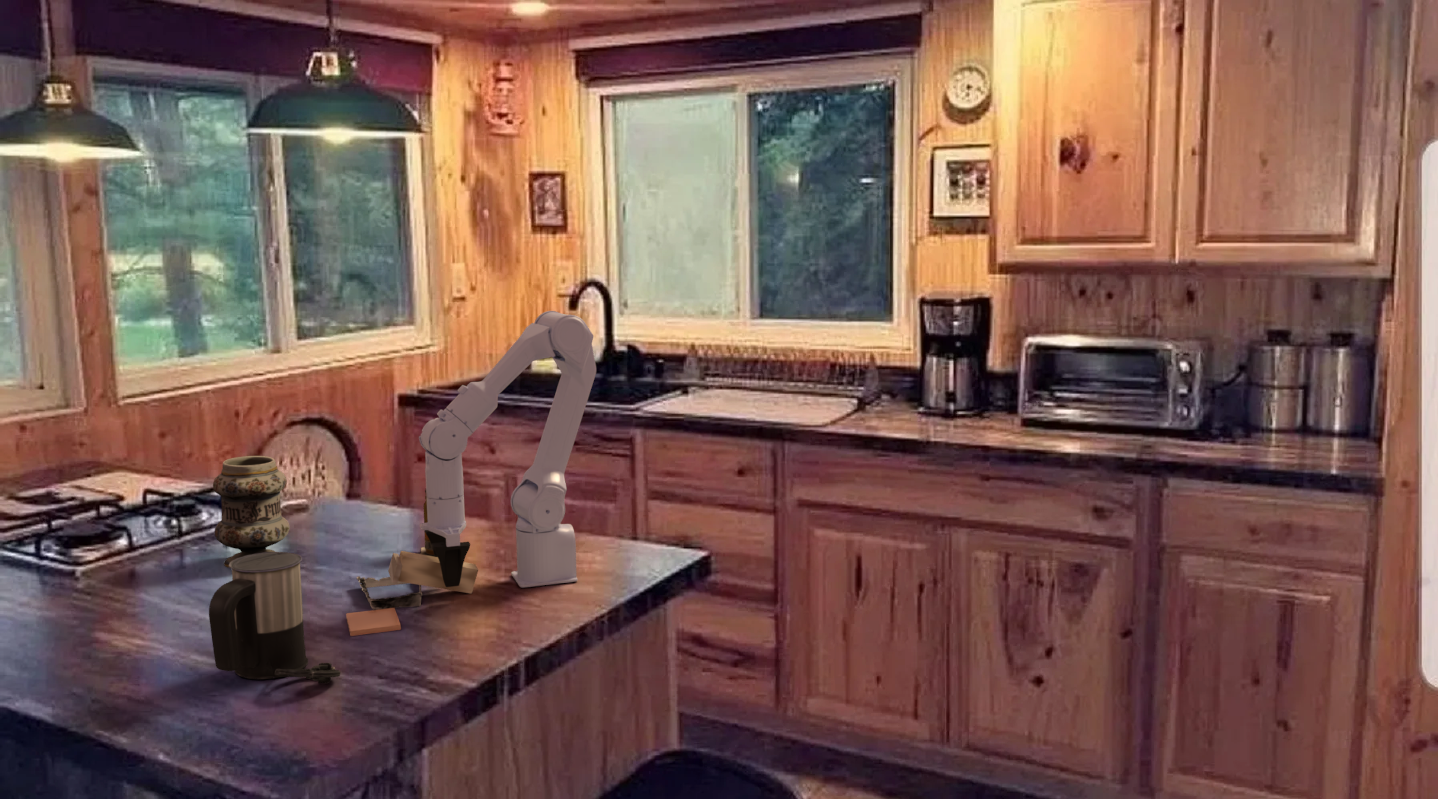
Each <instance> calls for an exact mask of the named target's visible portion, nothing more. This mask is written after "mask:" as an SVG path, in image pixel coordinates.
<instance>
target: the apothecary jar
mask: <svg viewBox="0 0 1438 799" xmlns="http://www.w3.org/2000/svg"><path fill="white" fill-rule="evenodd" d="M287 482H288V480H287V476H286V475H285V474H284V472H282V471H281V470H280V469H278V466H277V463H276V459H275V458H273V457H271V456H267V455H265V456H264V455H248V456H236V457H232V458H228V459H225V460H224V461H223V462H222V469H221V472H220V473H219V474H218V475H216V477H215V478H214V479H213V482H212V489H213V491H214V493H216V494H217V495H219V496H220V498H221V500H220V502H221V520H220V521H219V522H218V523H217V525H216V526H215V529H214V536H215V539H216V540H217V541H218V543H220V544H222V545H223V546H226V547H229V548H232V549H235V550H240V551H239V552H237V553H235V554H233V555H232V556H230V557H228V558H226V559H225V560H224V561H223V565H224V567H225V568H227V569H228V568H229V569H231V568H230V567H229V563H230V562H231V561H233V560H235V559H237V558H240V557H244V556H247V555H252V554H257V553H265V552H276V551H275V550H273V549H268V547H271V546H274V545H276V544H278V543H280V542H281V541H282V540H284V539H285V538H286V537H287V535H288V533H289V532H290V529H291V528H290V527H291V526H290V523H289V521H288V520H287V519H286V518H285V517H284V516H282V507H281V492H282V491H283V490H284V488H285V487H286V486H287Z"/></svg>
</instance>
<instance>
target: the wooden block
mask: <svg viewBox="0 0 1438 799" xmlns="http://www.w3.org/2000/svg"><path fill="white" fill-rule="evenodd" d="M387 570H388V574H389V577H390V578H391V581H392V583H394V584H397V583H398V581H400V582H406V583H407V584H412V585H418V586H419V585H421V586H423V587H424V586H425V587H430V588H431V587H432V588H436V589H437V588H438V589H441V590H448V591H455V592H460V593H466V594H473V591H474V587H475V584H476V580H477V576H478V573H479V568H478V566H477V565H476V563H471V562H467V561H464V563H463V568H462V574H461V580H460V584H459V586H453V587H446V586H445V584H444V580H443V576H442V571H441V566H440V562H439V559H438V557H433V556H428V555H422V554H421V553H415V552H410V551H405V550H400V552H399V553H394V552H393V553H392V557H391V559H390V563H389V566H388V569H387Z"/></svg>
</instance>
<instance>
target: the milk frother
mask: <svg viewBox="0 0 1438 799" xmlns="http://www.w3.org/2000/svg"><path fill="white" fill-rule="evenodd" d="M302 560H303V557H302V555H300V554H298V553H294V552H288V551H275V552H265V553H257V554H252V555H247V556H244V557H240V558H237V559H235V560H233V561H231V562H230V563H229V567H230V568H229V569H231V577H232V578H231V581H228V582H226V583H224V584H221V586H219V587H218V588H217V590H216V591H215V592H214V594H213V595H212V597H211V599H210V602H209V607H208V618H209V626H210V633H211V635H210V636H211V642H212V649H213V655H214V663H215V664H214V665H215V667H216V668H217V669H218V670H220V671H224V672H225V671H226V672H234V673H235V674H236V675H238V676H240V677H241V678H245V679H249V680H250V679H251V680H269V679H278V678H283V677H287V678H289V677H291V678H305V679H306V680H307V679H308V680H311V681H314V682H317V683H318V684H329V683H331V678H338V677H340V676H341V671H340V670H339V669H336V668H335V666H332V663H331V662H320V663H318V664H317V665H314V666H312V667H311V668H306V667H307V665H308V663H309V659H308V657H307V653H306V645H305V644H306V642H305V641H306V640H305V632H304V631H305V628H304V618H303V617H304V615H303V614H304V613H303V595H302V592H303V591H302V576H301V573H302V572H301V563H302Z"/></svg>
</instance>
